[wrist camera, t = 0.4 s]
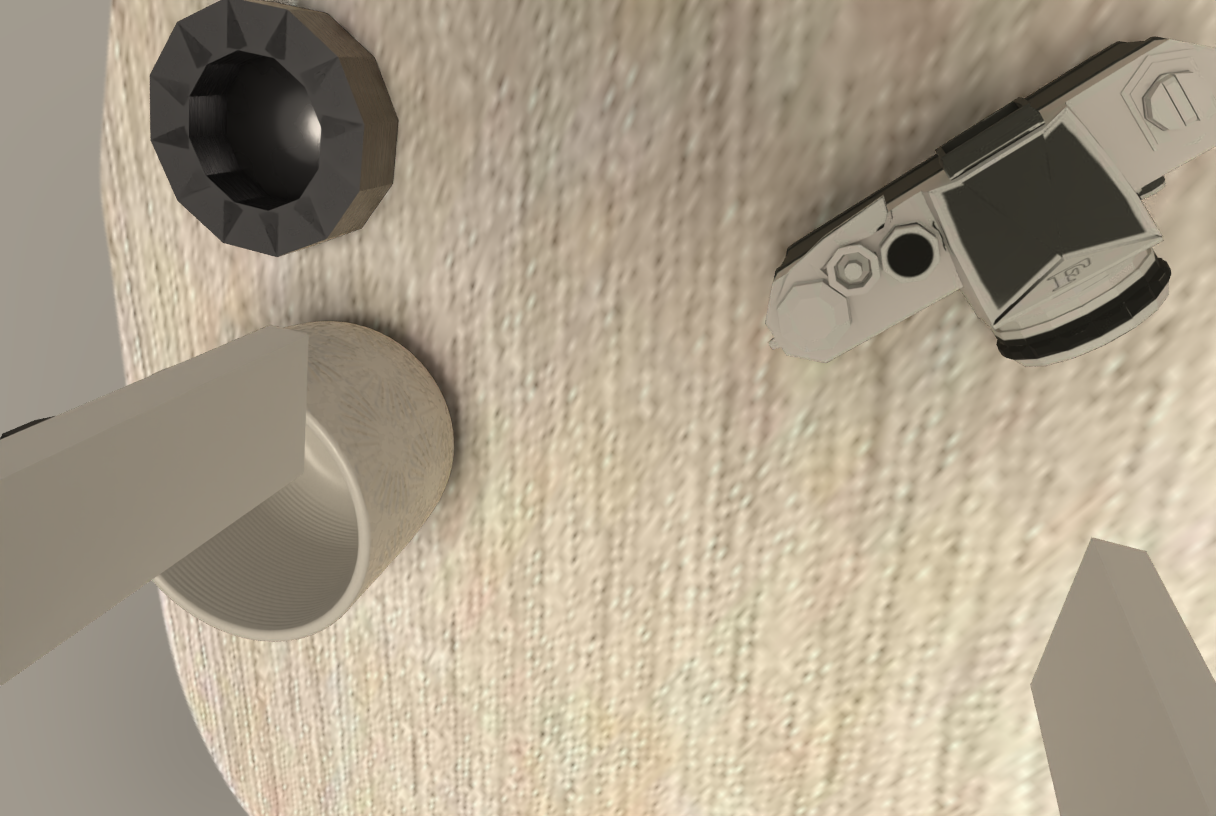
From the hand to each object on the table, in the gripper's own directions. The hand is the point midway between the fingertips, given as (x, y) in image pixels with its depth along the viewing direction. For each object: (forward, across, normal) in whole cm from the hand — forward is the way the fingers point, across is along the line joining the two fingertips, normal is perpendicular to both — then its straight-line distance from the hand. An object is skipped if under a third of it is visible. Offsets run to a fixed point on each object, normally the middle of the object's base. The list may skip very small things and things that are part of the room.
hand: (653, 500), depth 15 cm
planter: (+26, -19, -14) cm, 35 cm away
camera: (+26, +7, +2) cm, 27 cm away
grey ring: (+26, -24, 0) cm, 35 cm away
